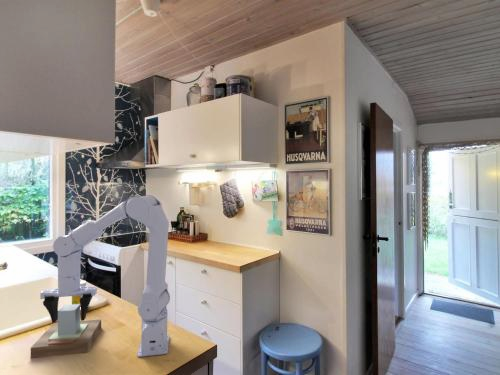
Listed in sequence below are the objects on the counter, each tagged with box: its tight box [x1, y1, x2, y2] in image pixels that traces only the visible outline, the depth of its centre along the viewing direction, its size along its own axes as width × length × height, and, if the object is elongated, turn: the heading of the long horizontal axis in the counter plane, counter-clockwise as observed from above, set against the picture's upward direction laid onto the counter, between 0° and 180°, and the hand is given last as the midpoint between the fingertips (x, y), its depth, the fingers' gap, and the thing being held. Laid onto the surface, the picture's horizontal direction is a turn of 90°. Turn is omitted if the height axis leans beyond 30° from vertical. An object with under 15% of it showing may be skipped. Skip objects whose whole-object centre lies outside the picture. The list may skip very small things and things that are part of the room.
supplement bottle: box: [71, 280, 87, 307], centre depth 111 cm, size 5×5×10 cm
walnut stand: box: [30, 318, 102, 359], centre depth 88 cm, size 14×14×3 cm
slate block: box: [57, 304, 81, 335], centre depth 88 cm, size 4×4×7 cm
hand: (69, 320), depth 88 cm, fingers open, 7 cm apart
